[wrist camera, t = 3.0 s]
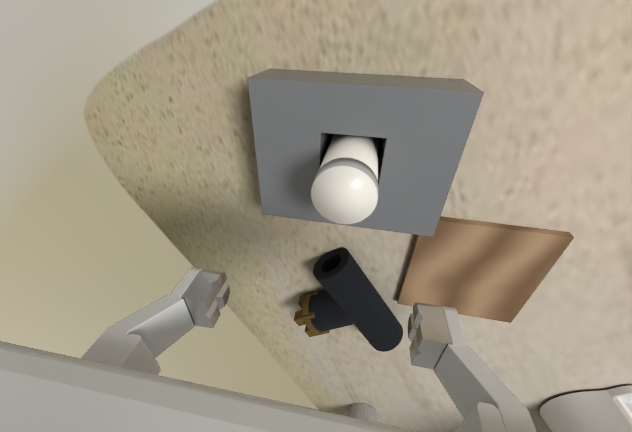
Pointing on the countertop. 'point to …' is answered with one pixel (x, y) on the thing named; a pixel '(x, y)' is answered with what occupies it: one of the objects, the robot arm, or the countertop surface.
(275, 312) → the countertop surface
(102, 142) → the countertop surface
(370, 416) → the house plant
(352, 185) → the plug
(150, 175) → the countertop surface
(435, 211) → the socket block
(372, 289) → the pipe connector
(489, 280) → the pad
